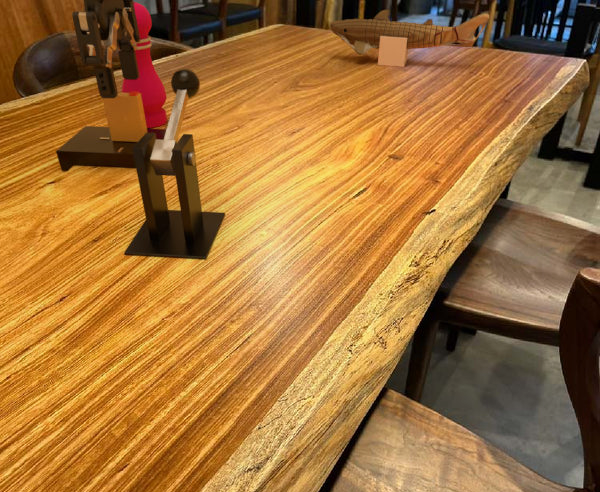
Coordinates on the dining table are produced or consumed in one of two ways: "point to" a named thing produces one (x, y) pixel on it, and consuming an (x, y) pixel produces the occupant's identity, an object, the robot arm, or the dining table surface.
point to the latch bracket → (172, 223)
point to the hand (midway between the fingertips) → (121, 87)
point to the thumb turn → (126, 117)
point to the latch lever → (174, 121)
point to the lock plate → (99, 149)
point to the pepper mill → (147, 74)
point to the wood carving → (403, 35)
